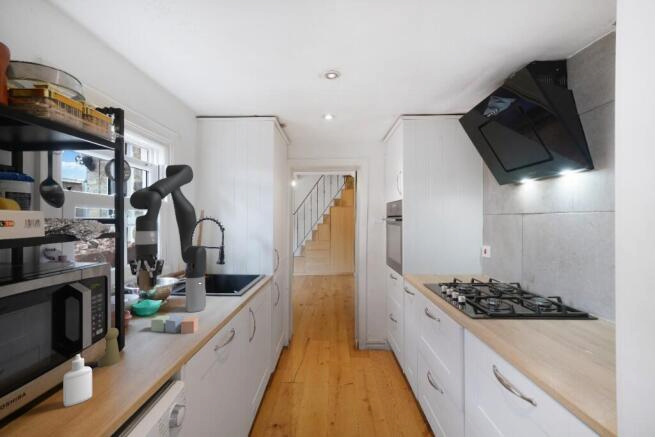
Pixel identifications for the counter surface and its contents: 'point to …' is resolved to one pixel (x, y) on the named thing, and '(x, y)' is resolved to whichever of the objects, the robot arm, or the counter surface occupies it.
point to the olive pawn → (110, 349)
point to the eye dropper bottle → (77, 383)
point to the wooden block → (144, 280)
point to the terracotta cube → (189, 325)
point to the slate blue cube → (174, 324)
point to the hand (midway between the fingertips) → (146, 286)
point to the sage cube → (159, 323)
